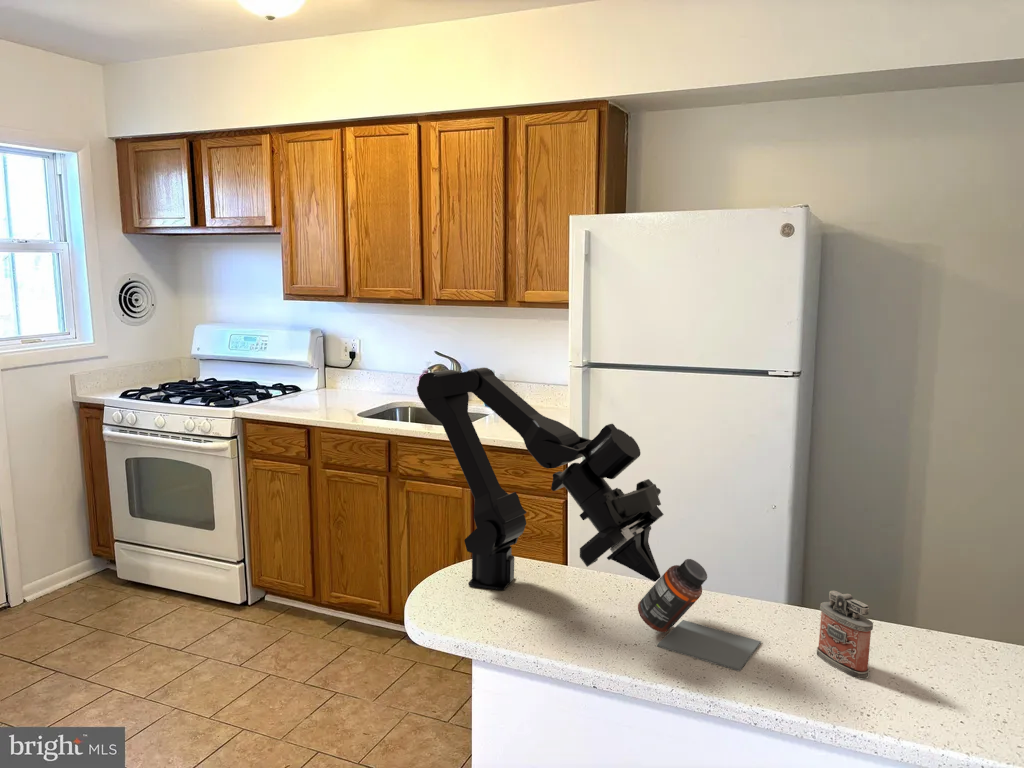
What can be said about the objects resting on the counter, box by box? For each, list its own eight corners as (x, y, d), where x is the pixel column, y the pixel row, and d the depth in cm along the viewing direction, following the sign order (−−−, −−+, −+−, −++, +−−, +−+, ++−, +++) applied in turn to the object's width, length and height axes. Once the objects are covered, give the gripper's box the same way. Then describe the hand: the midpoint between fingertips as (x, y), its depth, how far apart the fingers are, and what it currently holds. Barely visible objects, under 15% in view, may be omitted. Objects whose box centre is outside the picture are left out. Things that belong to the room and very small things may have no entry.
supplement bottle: (668, 614, 118) (712, 567, 113) (668, 641, 112) (715, 592, 108) (636, 594, 117) (679, 546, 113) (635, 620, 112) (680, 571, 107)
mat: (657, 646, 109) (657, 644, 109) (682, 621, 118) (682, 619, 118) (739, 671, 103) (739, 669, 103) (760, 643, 111) (760, 641, 111)
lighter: (810, 653, 108) (815, 586, 107) (828, 649, 110) (833, 583, 108) (856, 680, 101) (862, 609, 100) (874, 676, 102) (881, 605, 101)
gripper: (600, 478, 107) (671, 570, 102) (653, 455, 122) (717, 534, 118) (551, 522, 112) (616, 611, 108) (608, 494, 128) (667, 571, 123)
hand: (657, 579), depth 114 cm, fingers closed
